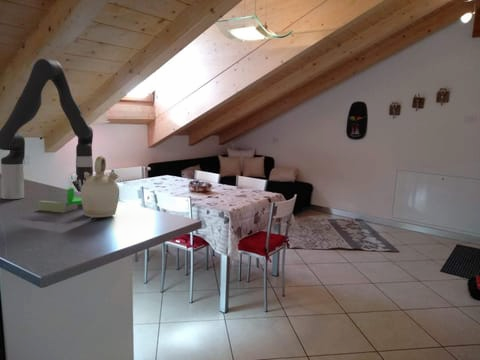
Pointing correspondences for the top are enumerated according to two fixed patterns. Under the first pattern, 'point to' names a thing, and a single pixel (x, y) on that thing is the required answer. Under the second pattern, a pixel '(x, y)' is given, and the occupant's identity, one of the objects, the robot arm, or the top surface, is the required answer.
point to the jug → (100, 192)
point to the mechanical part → (72, 197)
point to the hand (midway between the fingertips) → (85, 200)
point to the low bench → (56, 206)
